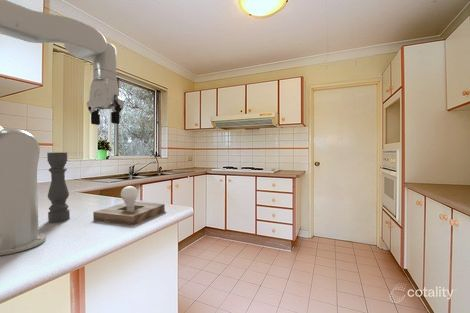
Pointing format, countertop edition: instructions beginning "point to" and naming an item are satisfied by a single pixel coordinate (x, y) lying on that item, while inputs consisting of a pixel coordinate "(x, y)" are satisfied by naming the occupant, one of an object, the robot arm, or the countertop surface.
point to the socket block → (129, 213)
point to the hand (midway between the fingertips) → (105, 124)
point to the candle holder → (58, 188)
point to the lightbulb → (129, 197)
